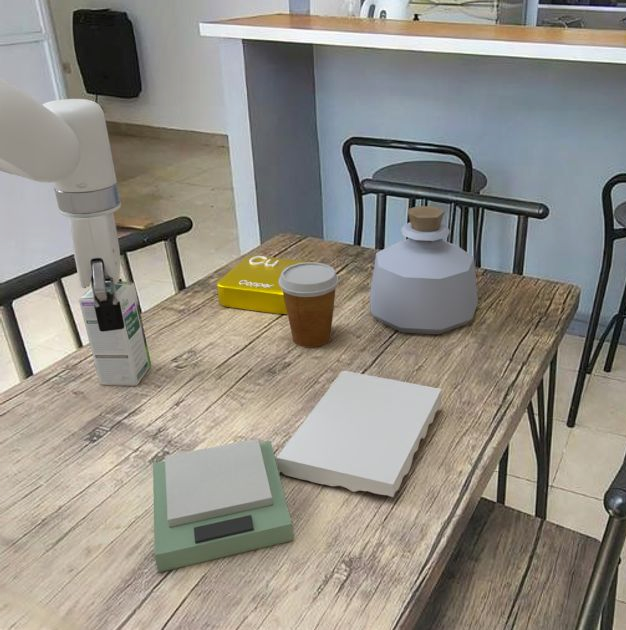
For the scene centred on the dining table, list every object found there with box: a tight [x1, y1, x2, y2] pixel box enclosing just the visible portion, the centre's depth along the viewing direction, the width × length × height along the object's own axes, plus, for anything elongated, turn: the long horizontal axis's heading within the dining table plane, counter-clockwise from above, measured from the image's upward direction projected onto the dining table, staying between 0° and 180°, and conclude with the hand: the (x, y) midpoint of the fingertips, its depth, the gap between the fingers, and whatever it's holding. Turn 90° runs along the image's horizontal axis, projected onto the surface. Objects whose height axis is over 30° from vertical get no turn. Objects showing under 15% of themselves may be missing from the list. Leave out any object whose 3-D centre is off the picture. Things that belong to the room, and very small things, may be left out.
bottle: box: [368, 205, 479, 335], centre depth 120 cm, size 20×20×19 cm
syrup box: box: [78, 280, 152, 387], centre depth 99 cm, size 6×6×14 cm
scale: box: [152, 438, 294, 573], centre depth 78 cm, size 14×15×4 cm
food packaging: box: [276, 370, 443, 498], centre depth 90 cm, size 15×3×20 cm
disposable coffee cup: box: [278, 261, 339, 348], centre depth 111 cm, size 10×10×12 cm
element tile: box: [216, 254, 309, 315], centre depth 128 cm, size 15×15×5 cm
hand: (113, 316), depth 98 cm, fingers closed on syrup box, 7 cm apart
